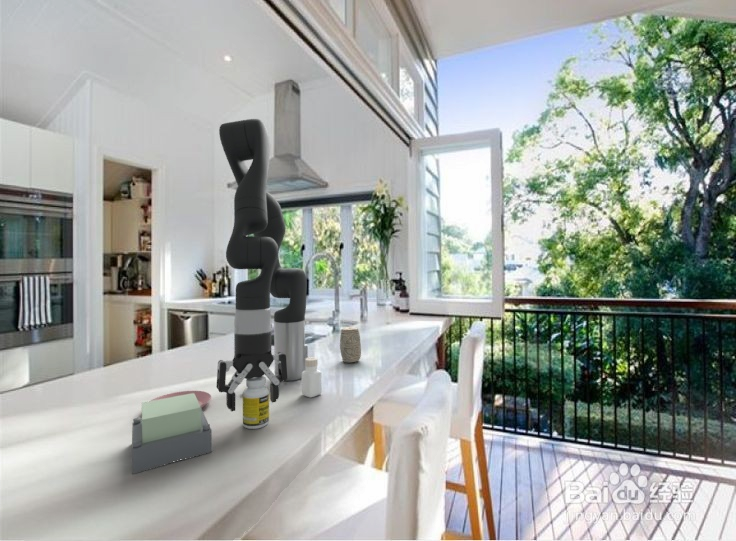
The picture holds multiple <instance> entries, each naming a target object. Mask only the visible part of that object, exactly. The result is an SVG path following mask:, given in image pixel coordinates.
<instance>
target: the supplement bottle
mask: <svg viewBox="0 0 736 541" xmlns="http://www.w3.org/2000/svg"><path fill="white" fill-rule="evenodd" d="M266 378H267V377H266V376H265V375H263V376H262V377H259V378H258V377H254V378H252V379H246V380H245V381H246V382H245V383H246V384H245V385H246V388H245V389H244V390H243V392H242V427H244V428H246V429H250V430H256V429H261V428H264V427H265V426H267V425H268V424H269V423H270V422H269V421H270V388H268V386H266V385H267V379H266Z"/></svg>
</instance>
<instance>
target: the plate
mask: <svg viewBox="0 0 736 541" xmlns="http://www.w3.org/2000/svg"><path fill="white" fill-rule="evenodd" d="M191 393H194V394H195V396H196V398H197V400H198V402H199V404H200V406H201V409H202V410H203V408H204V407H205V405H206V404H208V403H209V402H210V401H211V399H212V395H211V394H210V392H207V391H203V390H202V391H201V390H184V391H176V392H171V393H166V394H164V395H160V396H158V397H154V398H152V399H151V400H150V401H153V400H159V399H164V398H170V397H175V396H180V395H186V394H191Z"/></svg>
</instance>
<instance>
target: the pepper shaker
mask: <svg viewBox="0 0 736 541" xmlns="http://www.w3.org/2000/svg"><path fill="white" fill-rule="evenodd" d="M318 364H319V363H318V357H315V356H312V357H310V356H309V357H308V358H306V359H305V367H306V370H305V371H303V372H302V378H301V395H303V396H305V397H307V398H310V399H311V398H315V397H317V396H319V395H321V394H322V390H323V389H322V372H321V370H319V369H318V366H319V365H318Z"/></svg>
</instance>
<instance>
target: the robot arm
mask: <svg viewBox="0 0 736 541" xmlns="http://www.w3.org/2000/svg"><path fill="white" fill-rule="evenodd" d="M218 131H219V132H218V133H219V138H220V143H221V146H222V149H223V153H224V155H225V157H226V159H227V162H228V164H229V167H230V169H231V171H232V174H233V177H234V180H235V182H236V184H237V188H236V190H235V193H234V199H233V206H234V208H233V210H234V211H233V212H234V222H233V228H232V231H231V235H230V238H229V241H228V244H227V246H226V249H225V250H226V251H225V259H226V261H227V263H228V265H229V266H230V267H231V268H233V269H235V270H260V273H259V274H258V276H256V277H254V278H252V279H248V280H241V281H240V282H238V283H236V285H235V313H234V323H233V325H234V328H233V329H234V332H233V333H234V340H233V342H234V344H233V345H234V347H233V349H234V350H233V351H234V353H233V354H234V356H233V359H232V360H223V359H220V360H218V362H217V372H216V389H217V390H218V392H219V393H226V407H227V409H228V410H230V412H236V392H235V391H236V389H238V387H239V385H241V384H242V382H243V381H244V379H246V380H247V379H252V378H254V377H258V378H259V377H262V376H265V377H266V378H268V380H269V381H270V384H269V401H270V402H271V403H272V404H273V403H276V402H277V400H279V396H280V383H282V382H288V381H297V380H302V372H303V371H305V370H306V367H305V359H306V358H309V356H308V354H309V352H308V351H309V350H308V344H306V328H305V327H306V324H305V322H306V321H305V320H306V319H305V318H306V311H307V310H306V309H307V292H308V291H307V289H308V288H307V287H308V286H307V285H308V281H307V276H306V273H305V271H304V270H303V269H302V268H295V267H294V268H289V267H287V268H285V267H284V268H282V266H281V263H280V259H279V252H280V249H281V246H282V242H283V240H284V238H285V235H286V228H287V226H286V222H285V218H284V215H283V211H282V207H281V205H280V203H279V201H277V199H276V198H275V197H274V196H273V195H272V194H271V193H270V192H269V191H268V190H267V185H268V176H269V170H270V169H269V168H270V158H271V143H270V136H269V132H268V130H267V128H266V125H265V123H264V122H263V121H262V120H261V119H259V118H248V119H243V120H236V121H231V122H230V121H229V122H225V123H222V124H220V126H219V130H218ZM249 160H251V161H252V162H251V163H250V166H249V168H248V167H247V164H246V161H249ZM250 235H253V236H250ZM271 296H272V297H273V298H276V299H289V302H288V305H287V306H286V307H283V308H281V309H278V310H277V311H275V312H274V313H273V324H272V315H271ZM272 327H273V329H274V330H273V331H274V332H273V335H274V336H273V340H274V341H273V342H274V343H273V344H274V350H273V351H274V354H272ZM273 362H274V373H273V372H272V370H271V369H270V367H271V365H272V364H273ZM231 367H233V368H234V369H235V370H236V371H235V372H234V373H233V375H232V376H231V378H230V380H229V382H227V381H226V380H227V379H226V378H227V376H226V375H227V373H228V372H229V371H230V368H231ZM226 382H227V384H226Z"/></svg>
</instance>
